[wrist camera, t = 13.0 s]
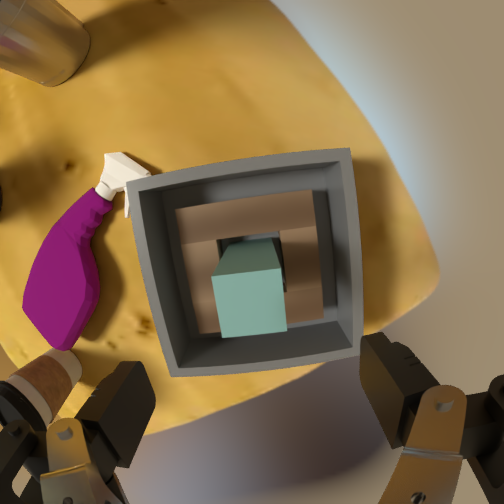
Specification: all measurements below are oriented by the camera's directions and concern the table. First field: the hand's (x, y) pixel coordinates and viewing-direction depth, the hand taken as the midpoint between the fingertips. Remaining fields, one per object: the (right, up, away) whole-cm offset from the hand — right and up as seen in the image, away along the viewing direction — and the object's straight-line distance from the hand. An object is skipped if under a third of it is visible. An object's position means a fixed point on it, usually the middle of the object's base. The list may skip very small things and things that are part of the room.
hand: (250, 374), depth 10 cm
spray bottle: (-19, +4, +20) cm, 28 cm away
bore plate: (0, +4, +20) cm, 20 cm away
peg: (0, +4, +19) cm, 19 cm away
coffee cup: (-27, -12, +24) cm, 38 cm away
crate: (0, +4, +20) cm, 20 cm away
